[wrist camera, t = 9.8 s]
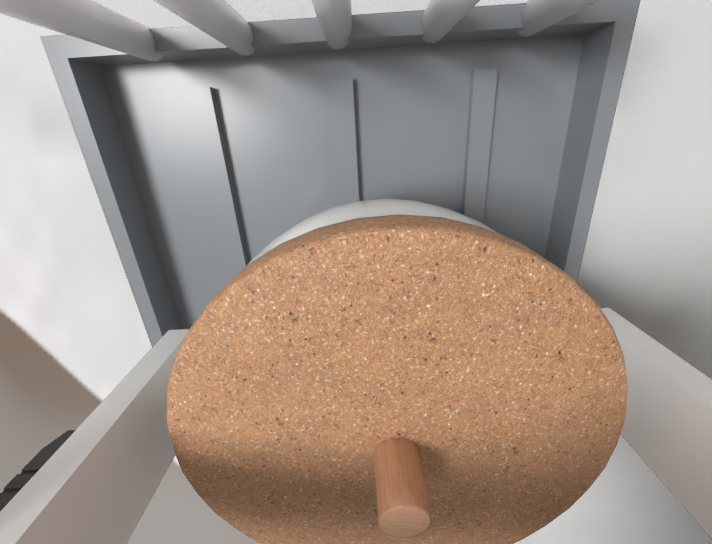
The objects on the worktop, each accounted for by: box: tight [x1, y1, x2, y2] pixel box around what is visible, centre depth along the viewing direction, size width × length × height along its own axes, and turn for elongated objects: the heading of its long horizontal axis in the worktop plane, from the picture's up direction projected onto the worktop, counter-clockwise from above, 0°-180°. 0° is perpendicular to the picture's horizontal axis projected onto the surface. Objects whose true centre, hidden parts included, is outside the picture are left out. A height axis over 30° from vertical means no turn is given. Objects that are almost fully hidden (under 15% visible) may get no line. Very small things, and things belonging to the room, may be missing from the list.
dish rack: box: [0, 0, 640, 348], centre depth 12 cm, size 18×18×9 cm
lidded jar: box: [166, 199, 628, 544], centre depth 11 cm, size 11×11×9 cm
